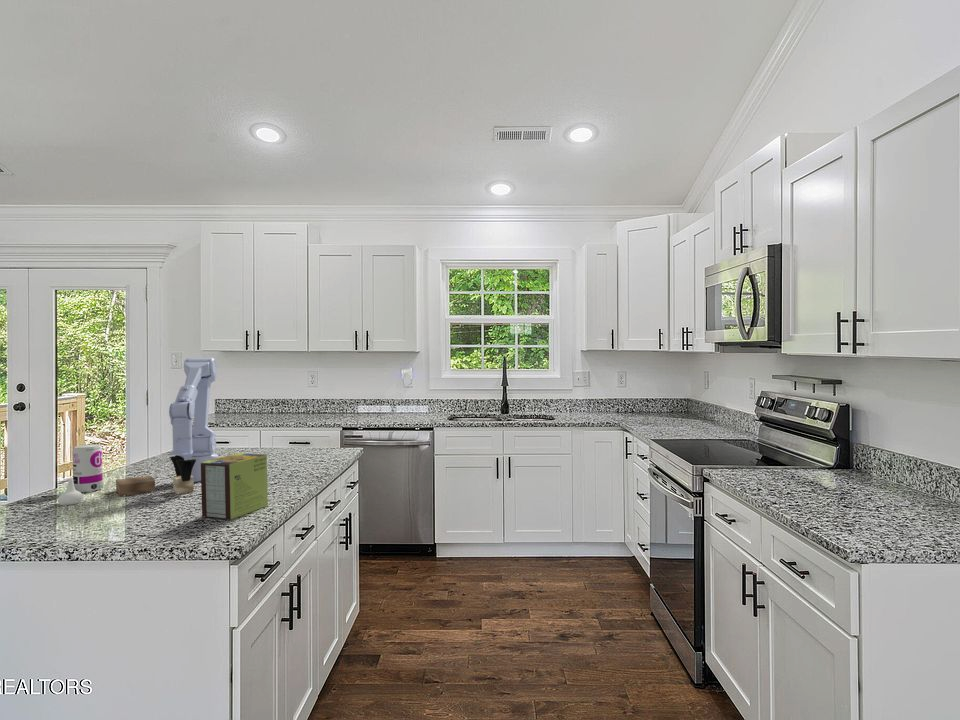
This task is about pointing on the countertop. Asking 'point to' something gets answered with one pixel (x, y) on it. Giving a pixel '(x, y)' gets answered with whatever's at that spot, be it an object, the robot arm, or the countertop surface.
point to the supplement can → (87, 468)
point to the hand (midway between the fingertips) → (183, 479)
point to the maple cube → (182, 485)
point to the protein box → (234, 485)
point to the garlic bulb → (70, 495)
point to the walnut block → (135, 485)
